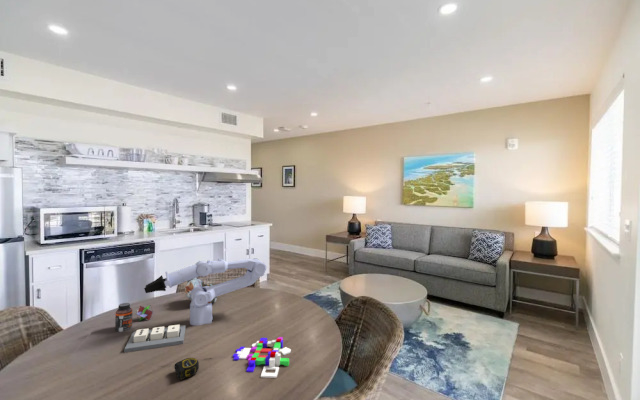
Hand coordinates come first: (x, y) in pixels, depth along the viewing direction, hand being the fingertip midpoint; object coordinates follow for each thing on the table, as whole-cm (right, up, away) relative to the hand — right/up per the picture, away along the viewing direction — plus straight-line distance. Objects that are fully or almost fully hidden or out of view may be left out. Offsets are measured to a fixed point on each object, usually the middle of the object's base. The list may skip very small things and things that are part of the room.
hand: (145, 289), depth 121 cm
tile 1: (+8, -18, -6) cm, 20 cm away
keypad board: (+8, -19, -6) cm, 21 cm away
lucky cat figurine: (+8, -19, +37) cm, 42 cm away
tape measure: (+28, -20, -26) cm, 43 cm away
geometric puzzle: (-9, -18, +14) cm, 25 cm away
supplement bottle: (-11, -19, +3) cm, 22 cm away
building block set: (+51, -21, -14) cm, 56 cm away
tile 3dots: (+3, -17, -8) cm, 19 cm away
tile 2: (+13, -18, -4) cm, 22 cm away
